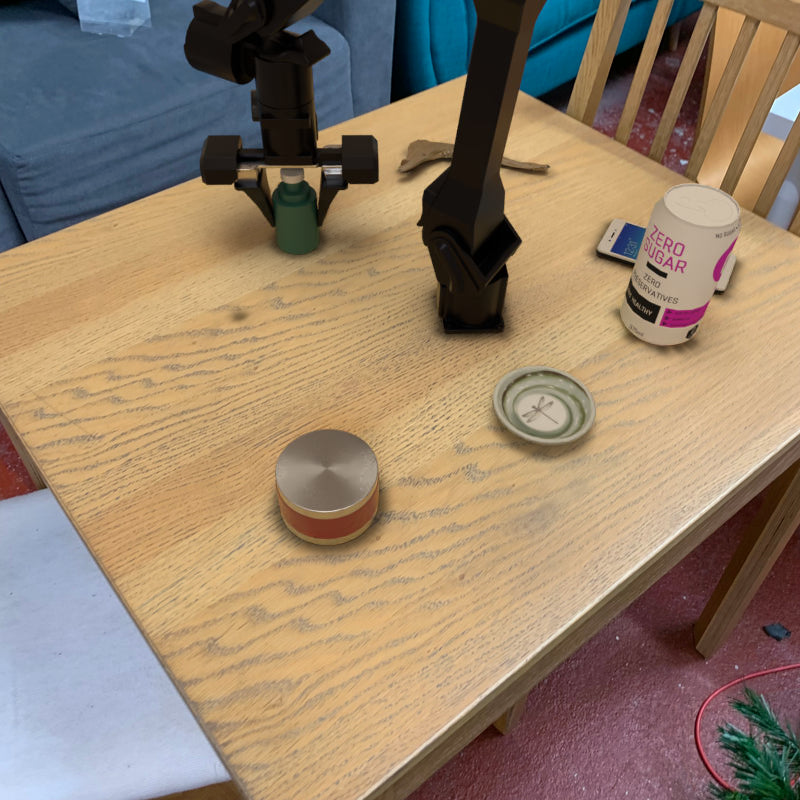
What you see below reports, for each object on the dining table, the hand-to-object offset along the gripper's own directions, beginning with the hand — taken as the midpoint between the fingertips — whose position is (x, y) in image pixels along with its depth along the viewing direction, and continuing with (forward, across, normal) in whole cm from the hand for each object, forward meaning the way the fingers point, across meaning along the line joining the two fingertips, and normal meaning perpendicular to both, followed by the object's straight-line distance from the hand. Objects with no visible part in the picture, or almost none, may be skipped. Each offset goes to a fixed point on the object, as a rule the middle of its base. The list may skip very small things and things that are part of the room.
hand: (297, 225), depth 88 cm
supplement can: (+2, -39, +15) cm, 42 cm away
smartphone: (+2, -43, +4) cm, 43 cm away
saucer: (+2, -24, +28) cm, 37 cm away
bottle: (+2, 0, 0) cm, 2 cm away
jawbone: (+2, -22, -14) cm, 26 cm away
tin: (+2, -4, +37) cm, 37 cm away
